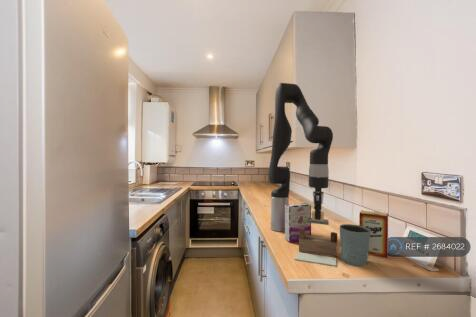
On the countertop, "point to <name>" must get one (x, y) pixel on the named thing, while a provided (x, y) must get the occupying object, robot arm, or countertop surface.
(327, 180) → the robot arm
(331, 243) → the body
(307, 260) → the mat
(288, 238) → the candy bar box
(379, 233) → the baking soda box
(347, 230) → the teal cup
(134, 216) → the countertop surface
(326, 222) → the lever cap
